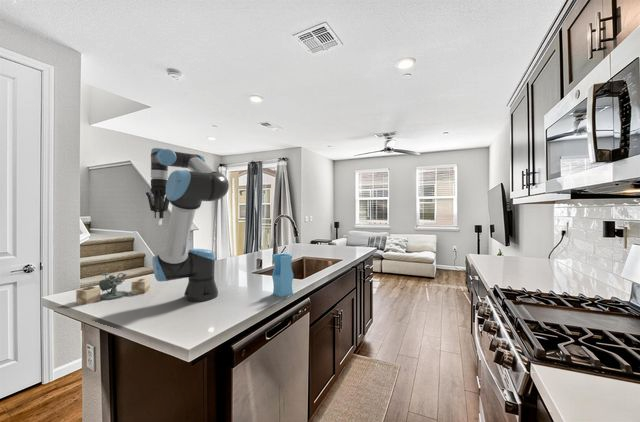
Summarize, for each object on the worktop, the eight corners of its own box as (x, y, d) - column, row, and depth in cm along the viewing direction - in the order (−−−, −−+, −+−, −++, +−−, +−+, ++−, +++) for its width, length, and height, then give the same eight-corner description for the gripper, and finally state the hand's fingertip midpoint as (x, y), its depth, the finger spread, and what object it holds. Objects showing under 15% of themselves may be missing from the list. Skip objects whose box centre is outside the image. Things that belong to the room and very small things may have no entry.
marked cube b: (100, 300, 127) (100, 286, 127) (86, 304, 121) (86, 290, 121) (90, 299, 128) (90, 285, 128) (76, 303, 123) (76, 289, 122)
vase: (271, 293, 141) (272, 254, 140) (284, 290, 146) (284, 253, 146) (280, 297, 135) (280, 256, 134) (293, 294, 140) (293, 255, 140)
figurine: (115, 300, 127) (116, 274, 127) (93, 299, 127) (93, 274, 127) (131, 293, 138) (132, 269, 138) (110, 292, 138) (110, 269, 138)
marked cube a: (149, 290, 143) (149, 278, 143) (144, 293, 138) (144, 281, 138) (136, 290, 142) (137, 278, 142) (131, 294, 136) (131, 281, 136)
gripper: (175, 179, 144) (175, 224, 144) (152, 179, 145) (151, 224, 145) (167, 178, 137) (166, 225, 137) (142, 178, 137) (141, 225, 138)
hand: (158, 224), depth 141 cm, fingers closed
